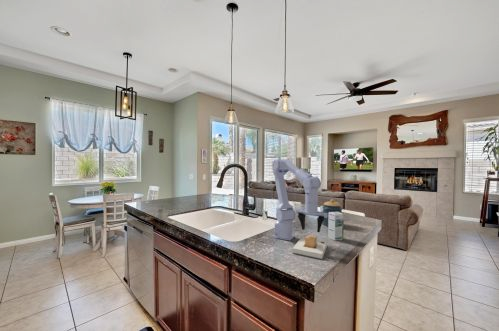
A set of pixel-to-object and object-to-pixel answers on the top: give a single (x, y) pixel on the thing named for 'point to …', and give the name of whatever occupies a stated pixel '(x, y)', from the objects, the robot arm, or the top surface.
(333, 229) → the syrup box
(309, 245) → the plug
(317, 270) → the top surface
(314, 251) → the white cutout panel
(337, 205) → the canister
